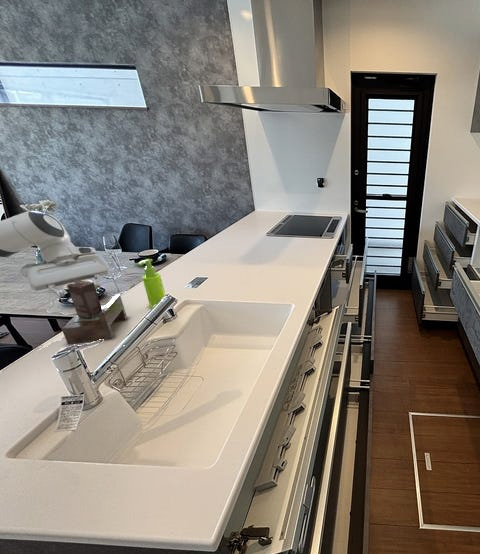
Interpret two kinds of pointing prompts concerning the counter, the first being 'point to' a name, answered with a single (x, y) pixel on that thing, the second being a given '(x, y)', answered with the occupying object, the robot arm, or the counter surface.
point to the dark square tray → (95, 323)
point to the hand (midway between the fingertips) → (80, 291)
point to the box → (85, 299)
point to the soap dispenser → (152, 283)
